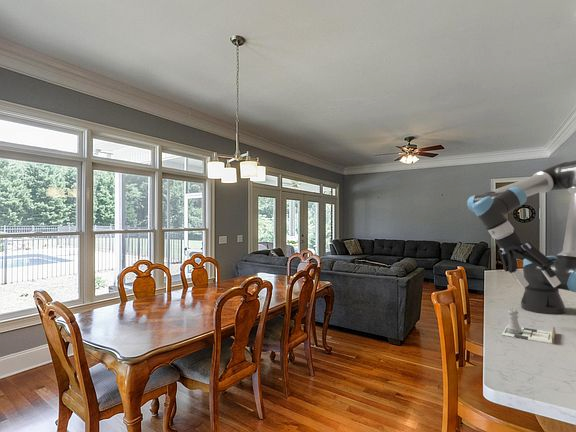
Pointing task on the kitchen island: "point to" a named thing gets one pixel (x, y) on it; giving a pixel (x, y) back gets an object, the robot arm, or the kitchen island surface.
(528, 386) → the kitchen island surface
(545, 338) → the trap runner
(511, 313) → the rook chess piece
